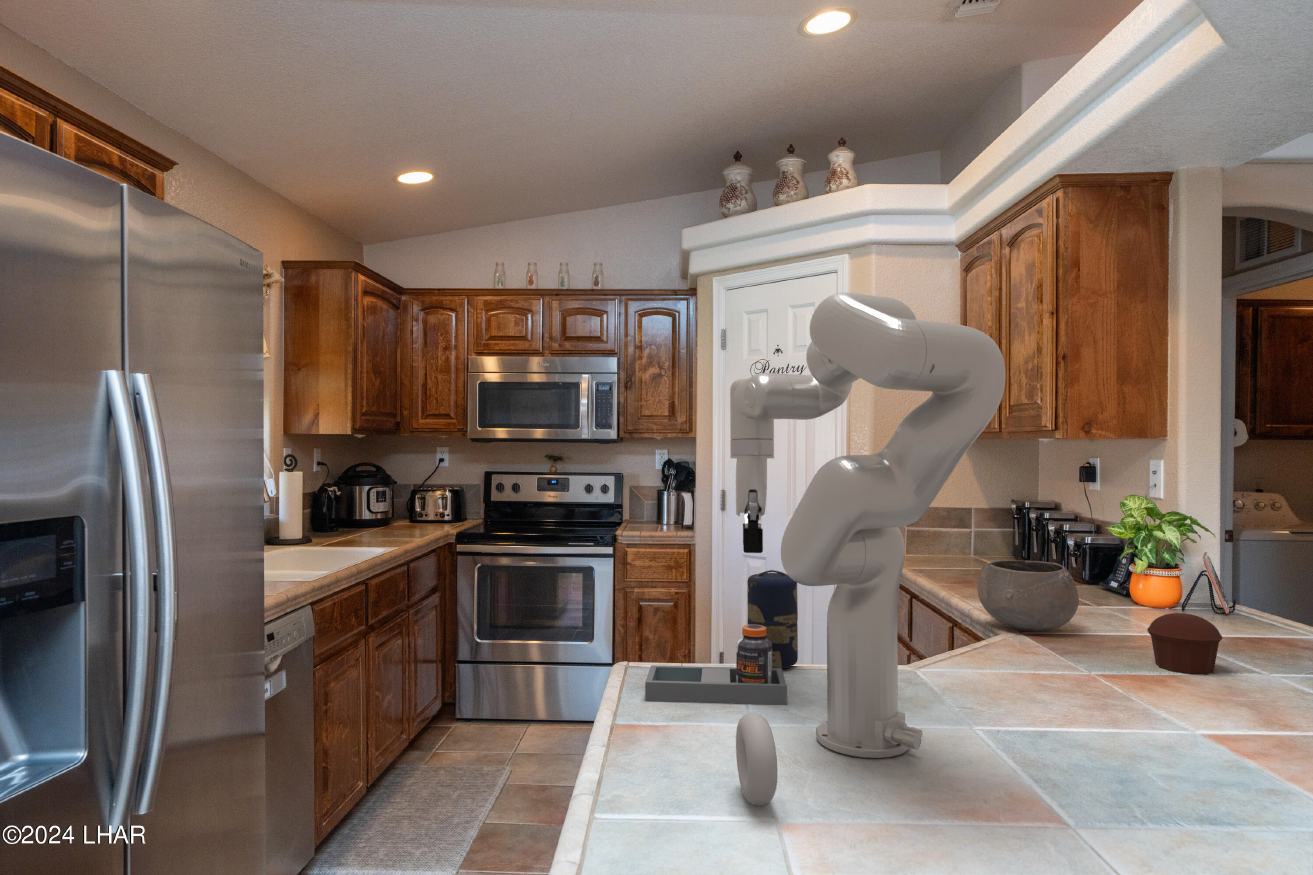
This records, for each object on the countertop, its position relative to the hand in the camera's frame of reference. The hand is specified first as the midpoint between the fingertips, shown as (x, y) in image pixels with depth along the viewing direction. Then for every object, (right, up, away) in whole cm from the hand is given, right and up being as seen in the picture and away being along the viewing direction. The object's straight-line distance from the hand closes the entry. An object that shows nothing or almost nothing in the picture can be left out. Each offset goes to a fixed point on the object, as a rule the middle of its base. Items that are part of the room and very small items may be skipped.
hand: (752, 549), depth 131 cm
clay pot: (+69, -25, +45) cm, 86 cm away
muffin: (+83, -24, +11) cm, 87 cm away
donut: (-5, -23, -44) cm, 50 cm away
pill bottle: (0, -24, -5) cm, 24 cm away
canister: (+5, -24, +13) cm, 28 cm away
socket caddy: (-7, -24, -4) cm, 25 cm away
